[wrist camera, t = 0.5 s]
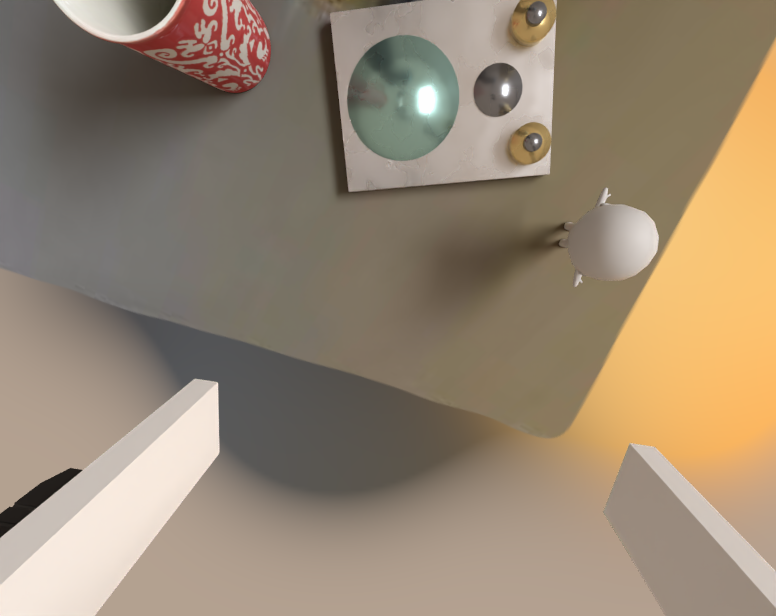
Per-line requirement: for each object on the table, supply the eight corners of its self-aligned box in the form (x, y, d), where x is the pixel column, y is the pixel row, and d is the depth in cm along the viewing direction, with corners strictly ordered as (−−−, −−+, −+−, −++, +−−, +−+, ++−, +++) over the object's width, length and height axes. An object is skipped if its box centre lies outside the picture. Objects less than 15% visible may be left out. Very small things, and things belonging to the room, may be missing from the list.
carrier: (333, 20, 30) (324, 0, 28) (551, -9, 29) (566, -33, 26) (350, 192, 34) (345, 190, 31) (544, 175, 33) (557, 172, 30)
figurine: (574, 279, 35) (653, 315, 24) (520, 269, 35) (572, 301, 24) (601, 194, 33) (703, 188, 21) (543, 184, 33) (613, 173, 21)
